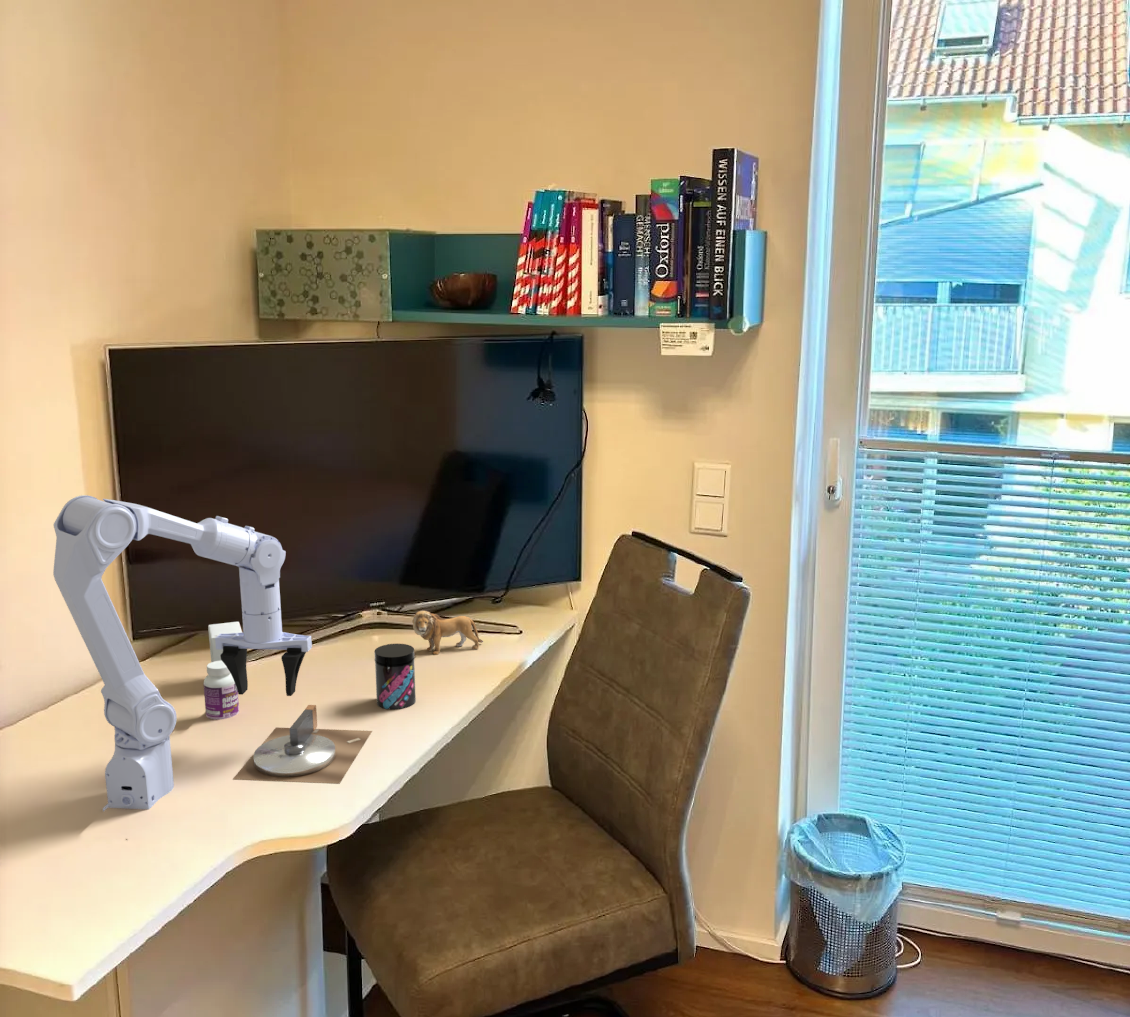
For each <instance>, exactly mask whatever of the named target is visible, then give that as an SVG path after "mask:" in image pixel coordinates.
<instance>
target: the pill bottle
mask: <svg viewBox="0 0 1130 1017" xmlns="http://www.w3.org/2000/svg"><path fill="white" fill-rule="evenodd" d="M206 673H207V676H206V677H204V680H203V693H204V708H205V716H206V717H207V718H208V719H210V720H226V719H230V718H233V717H235V716H237V715H239V713H240V705H239V704H240V703H239V694H238V690H237V687H236V684H235V682H234V679H233V677H232V675H231V673H230V671H229V670H228V668H227V667H226V665H225V664H224V663H223V661H215V662H211V661H210V662H208V663H207V665H206Z"/></svg>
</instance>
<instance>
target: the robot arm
mask: <svg viewBox="0 0 1130 1017" xmlns="http://www.w3.org/2000/svg"><path fill="white" fill-rule="evenodd" d="M53 528H54V532H55V536H56V541H55V550H54V552H55V553H54V561H53V562H54V563H53V575H52V576H53V578H54V581H55V583H56V586H57V587H58V589H59V591H60V594H61V596H62V598H63V600H64V602H65V604H66V606H67V609H68V611H69V613H70V615H71V617H72V619H73V621H74V623H75V625H76V628H77V630H78V632H79V633H80V636H81V638H82V640H83V642H84V644H85V646H86V648H87V651H88V653H89V654H90V656H91V659H92V662H93V664H94V665H95V667H96V669H97V670H96V671H97V672H98V674H99V676H100V678H101V679H102V682H103V684H104V685H103V687H102V688H101V690H100V693H101V695H102V697H103V700H104V708H103V712H104V713H103V714H104V718H105V720H106V721H107V723H108V724H109V725H110V726H111V727H114V752H113V755H112V757H111V759H110V760H109V761H108V763H107V765H106V767H105V769H104V777H105V786H106V797H107V804H106V805H104V806H103V808H102V812H106V810H107V809H108V808H109V809H110V808H111V809H129V810H130V809H131V810H133V809H135V810H150V809H151V808H152V807H153V806H154V805H155V804H156V803H157V802H158V801H159V800H160V799H162V798H163V797H165V796H166V795H168V794H169V793H170V792H172V791H173V790H174V787H175V783H174V782H175V781H174V769H173V759H172V750H171V749H172V748H171V747H172V746H171V738H170V737H171V736H170V735H171V734H172V733H173V732H174V729H175V728H176V723H177V712H176V710H175V707H174V706H173V704H171V703H169V702H168V701H167V700H165V699H164V698H163V697H162V696H161V693H160V691H159V689H158V687H156V685H155V684H154V683H153V682H152V680H150V679H149V678H148V676H147V675H146V674H145V672H144V670H143V668H142V665H141V663H140V661H139V659H138V657H137V655H136V652H135V649H134V648H133V645H132V643H131V641H130V639H129V637H128V635H127V632H126V630H125V628H124V625H123V623H122V621H121V619H120V617H119V615H118V612H117V610H116V607H115V606H114V603H113V601H112V600H111V597H110V595H109V592H108V590H107V588H106V586H105V583H104V582H103V579H102V578H103V575H104V573H105V572H106V569H107V568H108V567H109V566H110V565H111V564H112V563H113V562H114V561H115V560H116V558H117V557H118V556H119V555H120V554H122V552H124V550H125V549H126V548H127V547H128V546H129V544H131V542H132V541H133V540H134V541H141V540H142V539H144V538H145V537H146V536H148V535H153V536H158V537H162V538H165V539H170V540H173V541H177V542H182V543H185V544H188V545H190V546H191V548H192V549H193V551H194V552H193V553H195V555H197V556H198V557H202V558H206V559H209V560H213V561H216V562H221V563H225V564H227V565H230V566H231V565H232V566H236V567H238V572H239V587H240V600H241V616H242V632H241V633H229V634H219V635H218V636H217V637H216V638H215V643H216V649H220V650H222V649H223V653H222V654H221V655H220V657H221V660H222V661H223V663H224V664H225V665H226V667H227V668H228V670H229V671H230V673H231V675H232V677H233V679H234V682H235V684H236V687H237V690H238V695H245V693H246V692H247V691H248V686H249V684H248V672H247V658H248V650H249V649H250V650H280V651H281V650H282V651H283V650H285V652H284V654H282V655H281V663H282V666H283V672H284V677H285V693H286V697H291V696H293V695H294V694H295V692H296V687H297V679H298V676H299V671H300V669H301V666H302V663H303V661H304V658H305V656H306V653H308V652H309V651H310V650H311V649H312V648H313V642H312V635H305V634H304V635H303V634H295V633H289V632H285V631H283V623H282V608H281V606H282V605H281V593H280V578H281V568H282V566H283V564H284V562H285V560H286V553H287V552H286V550H284V549H283V547H282V544H281V542H280V541H279V539H277V538H276V537H274V536H273V535H269V534H265V533H262V532H259V531H255V529H256V528H254V527H253V526H249V525H245V526H244V527H242V526H239V525H236V524H232V523H229V519H228V518H226V517H222V516H219V515H216V516H215V518H212V517H206V518H205V519H202V520H200V521H199V522H197V523H196V522H194V521H191V520H188V519H184V518H181V517H179V516H175V515H172V514H169V513H166V512H164V511H159V510H157V509H154V508H152V507H148V506H146V505H141V504H139V503H138V504H137V503H132V502H126V501H122V500H116V499H115V500H114V499H110V498H109V499H108V498H102V500H101V499H98V498H97V497H95V496H92V495H88V494H85V495H82V494H81V495H77V496H75V497H72V498H71V499H70V500H68V501H67V502H66V503H65V504H64V506H62V508H61V511H60V512H59V513H58V516H57V517H56V519H55V521H54V522H53Z"/></svg>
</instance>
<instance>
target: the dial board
mask: <svg viewBox="0 0 1130 1017" xmlns="http://www.w3.org/2000/svg"><path fill="white" fill-rule="evenodd" d="M372 732H373V730H360V729H359V730H358V729H357V730H356V729H332V728H331V729H329V728H327V729H326V728H316V729H315V730H314V731H313V732H312V734H313V735H319V736H323V737H326V738H328V739H330V740H331V741H332V742H333V743H334V745H335V758H334V760H333V761H332V762H331V763H330V764H329V765H328V766H326V767H324V768H323V769H320V770H318V771H315V772H312V773H309V774H305V775H299V776H289V777H280V776H272V775H267V774H264V773H262V772H260V771H259V770H257V769H256V767H255V765H254V753H253V754H252V755H251V757H250V758H249V759H248V760H247V761H246V763H245V764H244V765H243V766H242V768H240V769H239V771H238V772H237V773H236V774H235V776H233V778H232V780H233V781H234V780H238V781H258V782H259V781H260V782H261V781H262V782H284V783H285V782H287V783H311V784H313V783H314V784H331V785H332V784H335V785H340V784H341V782H342V781H343V779H344V778H345V776H346V774H347V773H348V771H349V770H350V768H351V766H352V765H353V763H354V762H355V760H356V758H357V756H359V753H360V752H361V751H362V749H363V747H364V745H365V744H366V742H367V740H368V739H369V737H370V735H371V734H372ZM288 735H290V727H275V728H274V729H273V731H271V733H270V734H269V735H267V737H266V739H265V740H264V741H263V742H262V743H261V745H262V744H264V743H266V742H268V741H270V740H273V739H276V738H279V737H283V736H288Z"/></svg>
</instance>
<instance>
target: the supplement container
mask: <svg viewBox="0 0 1130 1017" xmlns="http://www.w3.org/2000/svg"><path fill="white" fill-rule="evenodd" d="M373 654H374V669H375V687H376V688H375V691H376V692H375V693H376V705H377V707H379V708H381V709H385V710H393V711H395V710H403V709H407V708H410V707H412V706H413V705H415V704H416V700H417V697H416V672H415V669H416V668H415V647H413V646H412V645H410V644H406V643H388V644H387V643H386V644H383V645H380V646H378V647H376V648H375V649H374V653H373Z"/></svg>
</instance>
